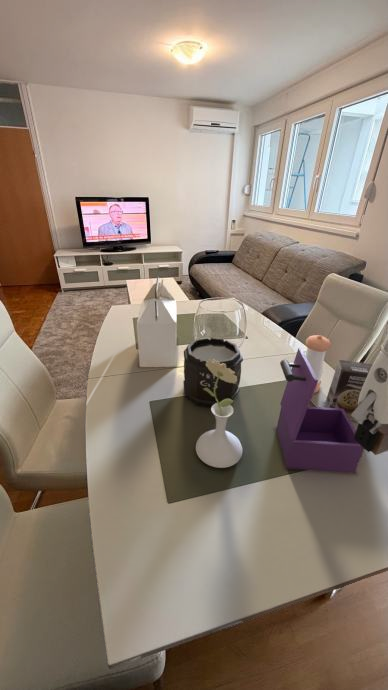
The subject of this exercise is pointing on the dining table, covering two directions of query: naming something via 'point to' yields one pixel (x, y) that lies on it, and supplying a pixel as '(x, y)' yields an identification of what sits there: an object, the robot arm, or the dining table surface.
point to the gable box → (157, 328)
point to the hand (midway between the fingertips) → (374, 440)
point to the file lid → (297, 391)
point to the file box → (321, 442)
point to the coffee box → (347, 386)
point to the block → (380, 438)
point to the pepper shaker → (317, 355)
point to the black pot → (203, 378)
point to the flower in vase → (219, 426)
